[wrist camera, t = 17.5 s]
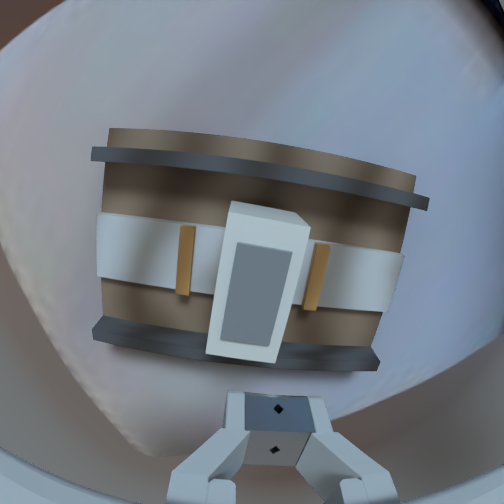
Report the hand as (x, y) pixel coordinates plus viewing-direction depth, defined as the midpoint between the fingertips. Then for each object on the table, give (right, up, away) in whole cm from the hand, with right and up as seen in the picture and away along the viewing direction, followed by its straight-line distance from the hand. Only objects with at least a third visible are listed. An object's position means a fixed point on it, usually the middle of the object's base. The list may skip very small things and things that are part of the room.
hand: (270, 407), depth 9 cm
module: (-1, +4, +13) cm, 14 cm away
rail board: (-1, +4, +16) cm, 16 cm away
